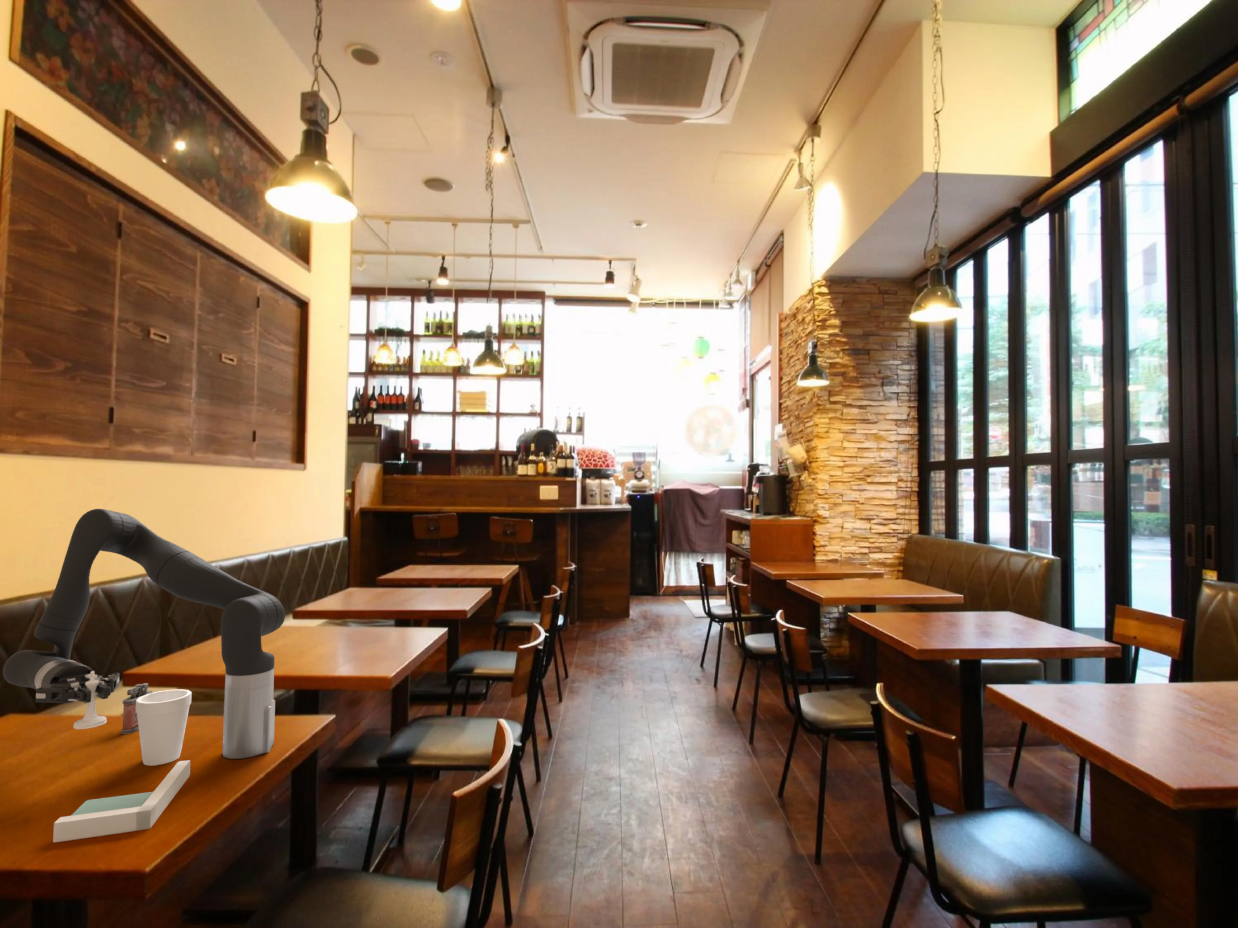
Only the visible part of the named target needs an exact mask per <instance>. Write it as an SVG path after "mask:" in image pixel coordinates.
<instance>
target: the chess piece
mask: <svg viewBox="0 0 1238 928" xmlns="http://www.w3.org/2000/svg"><path fill="white" fill-rule="evenodd" d="M97 675H98V674H96V673H95V670H93V671H91V672H90V674H89V675H88V677H90V681H87V682H86V683H85V685H86V687H87V689H89V690H91V702H89V703H86V709H85V714H84V716H82V718H80V719H78V720H76V721H75V722H73V729H74V730H86V729H94V728H97V727H100V726H103V725H105V724H106V723H107V722H108V721H107V716H103V715H99V713H97V709H96V708H97V707H96V697H97V695H98V692H95V690H96V688H97V685H98V683H99V681H98V680H94V678H95V677H97Z"/></svg>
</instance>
